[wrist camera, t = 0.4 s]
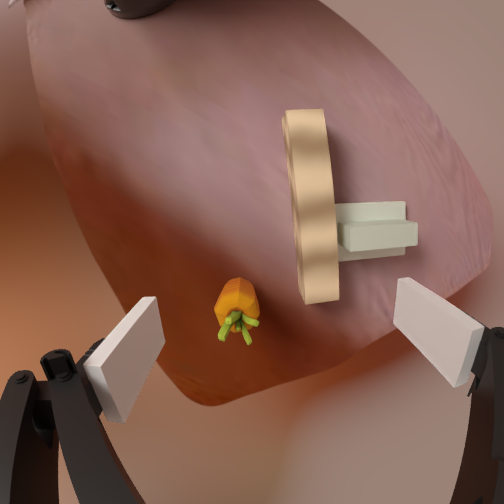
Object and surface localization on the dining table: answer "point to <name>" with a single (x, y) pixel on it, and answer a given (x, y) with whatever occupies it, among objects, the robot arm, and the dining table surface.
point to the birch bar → (312, 204)
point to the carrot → (237, 308)
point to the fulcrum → (373, 230)
